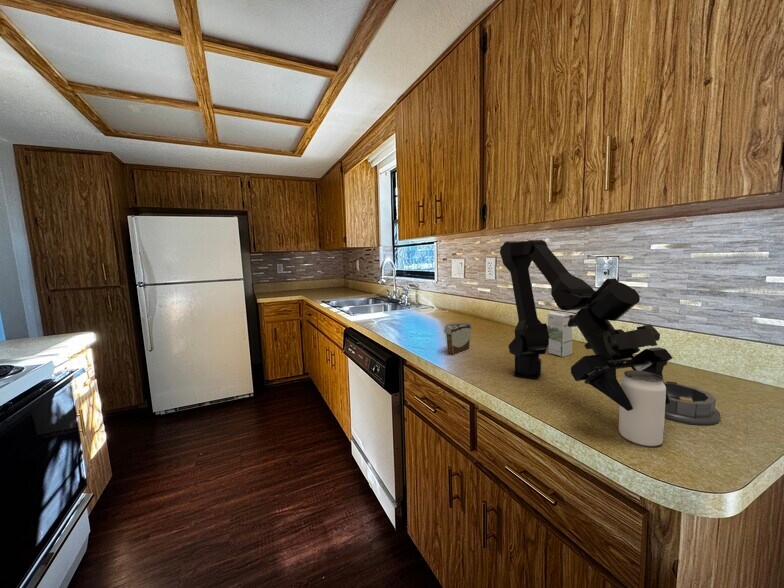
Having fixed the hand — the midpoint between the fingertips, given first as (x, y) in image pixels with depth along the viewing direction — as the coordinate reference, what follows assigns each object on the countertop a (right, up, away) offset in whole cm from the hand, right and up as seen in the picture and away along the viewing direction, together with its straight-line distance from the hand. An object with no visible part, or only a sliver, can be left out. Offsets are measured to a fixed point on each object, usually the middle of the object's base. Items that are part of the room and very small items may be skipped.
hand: (649, 407), depth 56 cm
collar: (+16, -5, +12) cm, 20 cm away
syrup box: (+11, -1, +51) cm, 53 cm away
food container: (-23, -1, +59) cm, 64 cm away
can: (0, -7, +2) cm, 7 cm away
